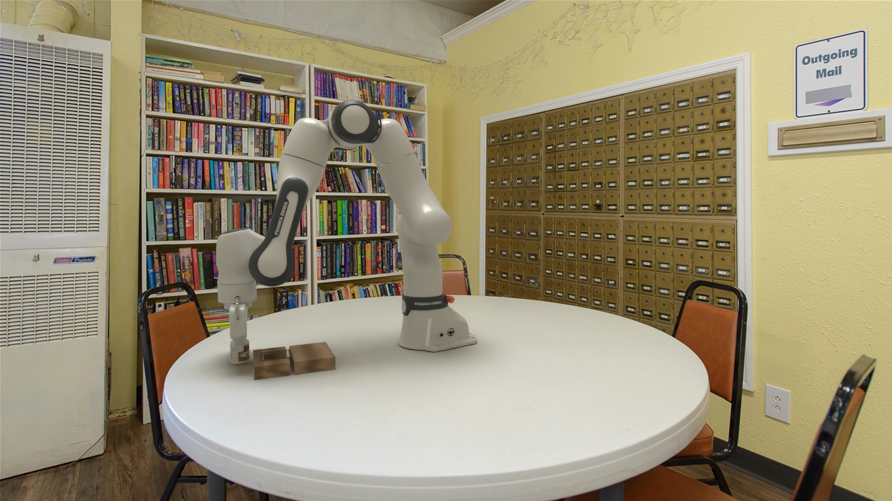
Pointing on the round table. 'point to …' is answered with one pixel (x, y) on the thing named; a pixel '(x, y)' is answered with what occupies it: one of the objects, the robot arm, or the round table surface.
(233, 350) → the pill bottle
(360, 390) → the round table surface
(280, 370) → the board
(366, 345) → the round table surface
